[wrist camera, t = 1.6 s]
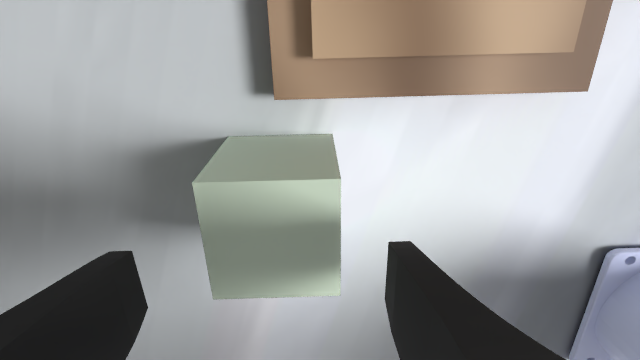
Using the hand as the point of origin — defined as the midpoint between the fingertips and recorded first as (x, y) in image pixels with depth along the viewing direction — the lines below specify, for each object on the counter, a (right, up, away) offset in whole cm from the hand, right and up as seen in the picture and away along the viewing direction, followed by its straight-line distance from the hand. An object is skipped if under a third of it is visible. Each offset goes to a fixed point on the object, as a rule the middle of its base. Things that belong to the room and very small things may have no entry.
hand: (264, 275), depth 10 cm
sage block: (0, +3, +6) cm, 7 cm away
